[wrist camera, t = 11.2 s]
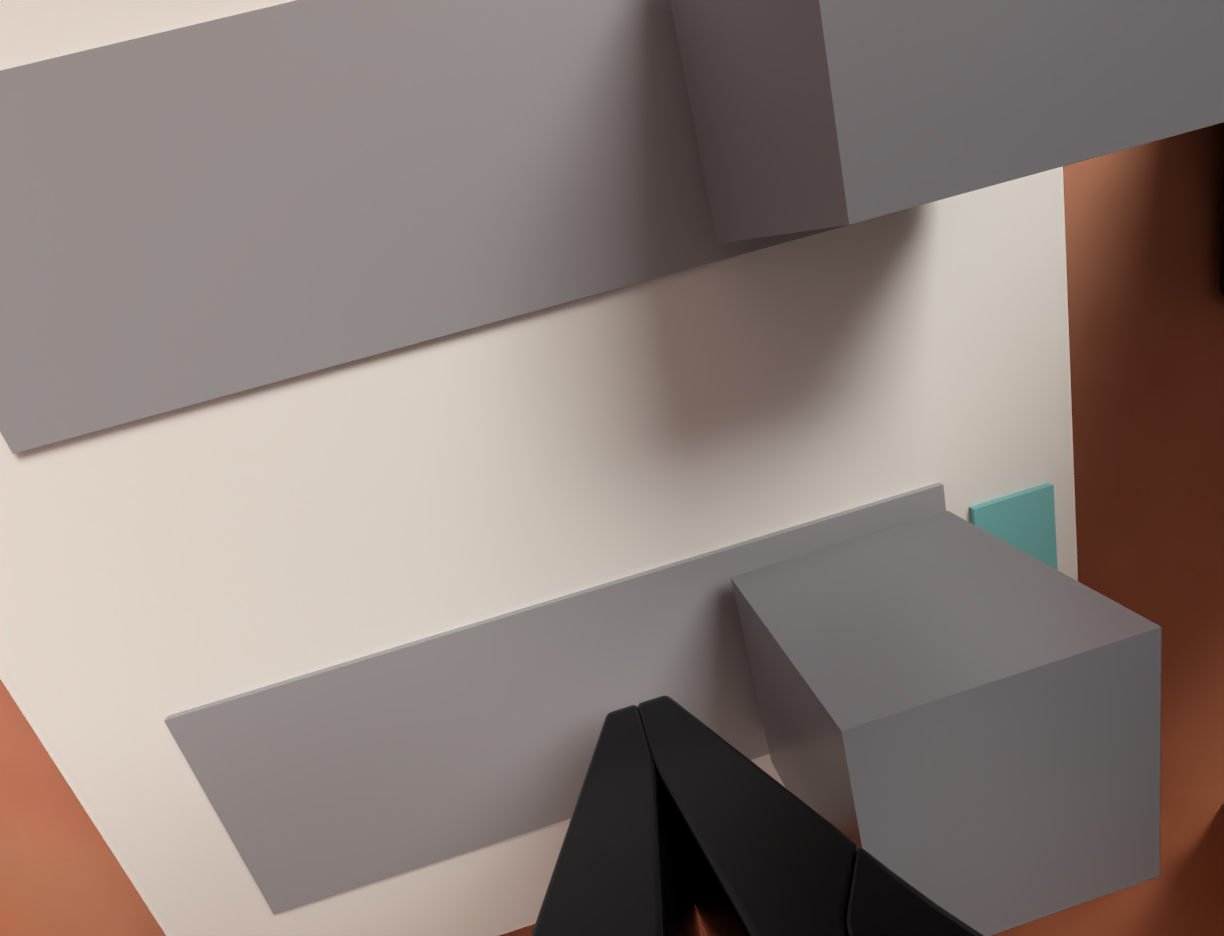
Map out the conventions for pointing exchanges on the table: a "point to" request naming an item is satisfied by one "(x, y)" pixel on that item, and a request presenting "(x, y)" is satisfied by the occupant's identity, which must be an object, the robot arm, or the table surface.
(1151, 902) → the table surface
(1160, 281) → the table surface
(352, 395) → the switch panel
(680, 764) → the robot arm
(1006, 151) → the tab
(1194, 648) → the table surface
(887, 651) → the tab
